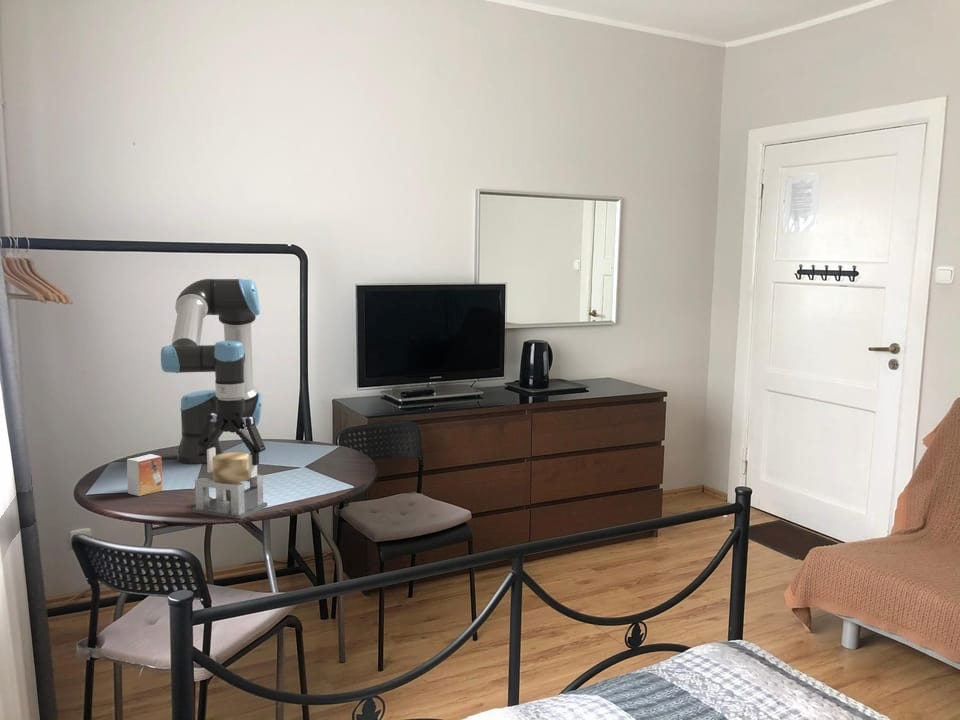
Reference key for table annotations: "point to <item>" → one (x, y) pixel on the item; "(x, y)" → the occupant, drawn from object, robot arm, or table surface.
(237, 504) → the fork bracket
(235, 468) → the mushroom peg
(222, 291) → the robot arm
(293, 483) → the table surface
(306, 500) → the table surface
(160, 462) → the small box
